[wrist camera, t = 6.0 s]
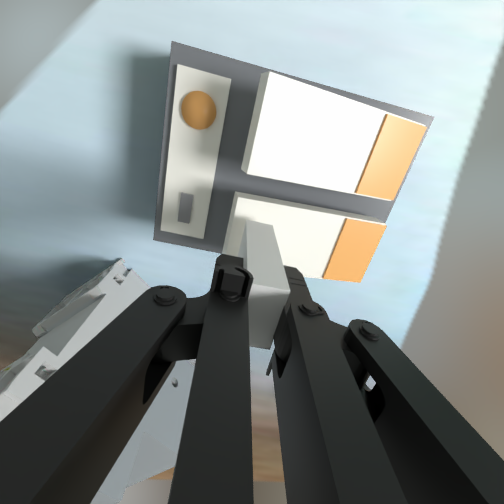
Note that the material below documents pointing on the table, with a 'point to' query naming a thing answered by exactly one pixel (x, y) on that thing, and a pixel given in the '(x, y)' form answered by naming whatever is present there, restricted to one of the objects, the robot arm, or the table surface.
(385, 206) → the switch unit
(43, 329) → the circuit breaker
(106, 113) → the table surface
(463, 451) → the robot arm
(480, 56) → the table surface
